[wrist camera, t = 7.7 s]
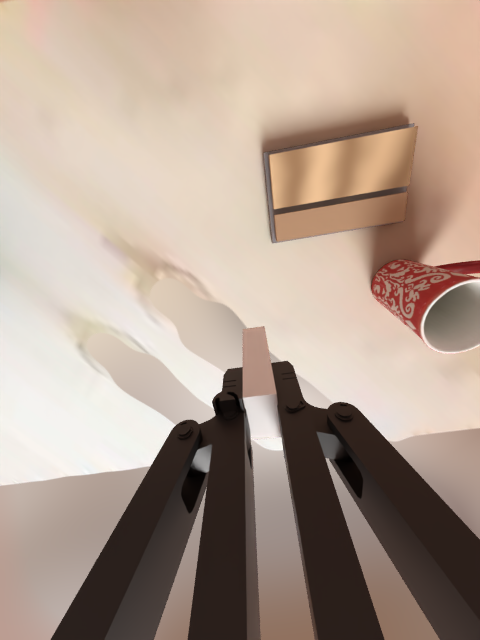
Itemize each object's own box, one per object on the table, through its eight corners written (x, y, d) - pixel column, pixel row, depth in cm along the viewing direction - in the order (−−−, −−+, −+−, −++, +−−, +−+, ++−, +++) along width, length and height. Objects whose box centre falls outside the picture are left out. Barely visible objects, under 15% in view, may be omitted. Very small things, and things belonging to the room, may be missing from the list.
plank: (273, 208, 32) (274, 209, 31) (268, 156, 30) (269, 154, 29) (403, 185, 31) (409, 185, 30) (411, 128, 28) (417, 125, 27)
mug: (375, 318, 40) (432, 366, 28) (356, 274, 37) (411, 306, 25) (454, 280, 37) (556, 315, 25) (440, 228, 34) (550, 239, 22)
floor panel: (272, 242, 35) (273, 244, 33) (263, 154, 31) (264, 150, 29) (398, 221, 34) (408, 222, 32) (408, 125, 29) (421, 119, 27)
